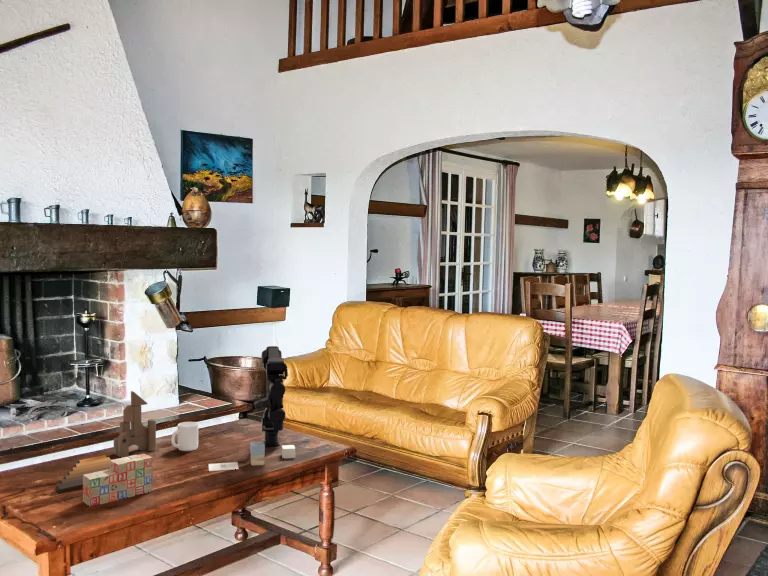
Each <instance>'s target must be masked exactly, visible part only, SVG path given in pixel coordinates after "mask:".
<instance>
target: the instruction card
mask: <svg viewBox="0 0 768 576" xmlns="http://www.w3.org/2000/svg"><path fill="white" fill-rule="evenodd" d="M235 469H236V470H239V469H240V468H239V463H238V461H236V462H233V461H232V462H221V463H219V462H218V463H208V472H216V471H219V472H220V471H232V470H233V471H234V470H235Z"/></svg>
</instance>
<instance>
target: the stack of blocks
mask: <svg viewBox="0 0 768 576" xmlns="http://www.w3.org/2000/svg"><path fill="white" fill-rule="evenodd" d="M153 470H154V466H153V457H152V456H150V455H148V454H146V453H139V454H133V455H129V456H126V457H121V458H120V457H119V458H114V459H113V460H112V459H110V469H108V470H104V471H99V472H94V473H89V474H85V475H83V488H82V502H83V503H84V504H86V506H88V505H89V506H88V507H90V508H91V507H95V506H99V505H103V504H108V503H111V502H116V501H120V500H124V499H127V497H128V498H132V497H136V496H135V495H137V496H140V494H141V495H144V493H145V494H148V492H149V493H152V492H153V475H154V471H153ZM151 491H152V492H151ZM123 498H124V499H123ZM119 499H120V500H119Z"/></svg>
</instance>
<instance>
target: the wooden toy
mask: <svg viewBox="0 0 768 576" xmlns="http://www.w3.org/2000/svg"><path fill="white" fill-rule="evenodd" d="M145 405H146V406H147V405H148V402H147V401H146V400H145V399H143V398H142V397H141V396H140V395H139V394H137V392H135V391H133V390H131V391H130V404H128V405H126V407H124V409H123V410H122V417H123V418H122V421H119V435H118V437H116V438H113V455H114V456H117V457H119V458H120V457H121V458H124V457H128V456H130V455H129V454H130V453H129V452H130V451H129V449H130V447H131V446H137V450H139V451H140V452H142V451H148V452H154V451H155V452H156V451H157V437H156V436H157V421H156V420H157V419H155V418H152V419H151V418H150V419H148V420H147V426H146V425H144V424H143V423H142V406H145Z"/></svg>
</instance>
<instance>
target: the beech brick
mask: <svg viewBox="0 0 768 576" xmlns="http://www.w3.org/2000/svg"><path fill="white" fill-rule="evenodd" d="M251 465H252V466H264V465H265V455H257V456H252V455H251V454H250V466H251Z"/></svg>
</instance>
